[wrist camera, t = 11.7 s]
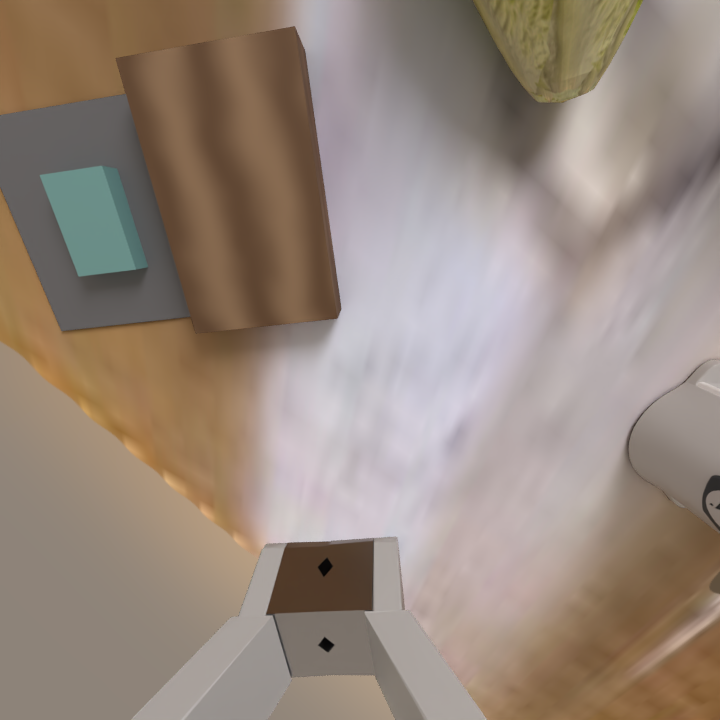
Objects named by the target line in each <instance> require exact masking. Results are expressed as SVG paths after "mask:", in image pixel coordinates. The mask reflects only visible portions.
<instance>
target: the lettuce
mask: <svg viewBox="0 0 720 720" xmlns="http://www.w3.org/2000/svg"><path fill="white" fill-rule="evenodd" d="M472 1H473V2H474V4H475V6H476V8H477V10H478V12H479V14H480V16H481V18H482V20H483V21H484V23H485V25H486V27H487V29H488V31H489V33H490V35H491V37H492V38H493V40H494V42H495V44H496V45H497V47H498V49H499V51H500V52H501V54H502V56H503V57H504V59H505V61H506V63H507V64H508V66H509V68H510V69H511V71H512V72H513V73H514V75H515V76H516V78H517V79H518V80H519V82H520V83H521V85H522V86H523V87H524V88H525V89H526V91H527V92H528V93H529V94H530V95H531V96H532V97H533V98H534V99H535V100H536V101H537V102H565V101H567V100H570V99H573V98H575V97H578V96H580V95H583V94H585V93H588V92H589V91H591V90H593V89H594V88H595V86H596V85H597V83H598V82H599V80H600V78H601V77H602V75H603V74H604V72H605V71H606V69H607V67H608V66H609V64H610V62H611V61H612V59H613V57H614V55H615V53H616V52H617V50H618V48H619V46H620V44H621V43H622V41H623V39H624V37H625V35H626V33H627V31H628V29H629V27H630V25H631V23H632V21H633V19H634V17H635V15H636V13H637V11H638V9H639V7H640V5H641V3H642V1H643V0H472Z"/></svg>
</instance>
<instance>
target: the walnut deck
mask: <svg viewBox="0 0 720 720" xmlns="http://www.w3.org/2000/svg"><path fill="white" fill-rule="evenodd" d="M116 62H117V65H118V69H119V72H120V75H121V79H122V82H123V86H124V89H125V93H126V96H127V100H128V103H129V106H130V110H131V113H132V117H133V120H134V124H135V127H136V130H137V134H138V137H139V141H140V144H141V148H142V151H143V154H144V158H145V161H146V165H147V168H148V172H149V175H150V179H151V182H152V185H153V189H154V192H155V196H156V199H157V203H158V206H159V209H160V213H161V216H162V220H163V223H164V227H165V230H166V233H167V237H168V240H169V244H170V247H171V251H172V254H173V257H174V261H175V264H176V268H177V271H178V275H179V278H180V282H181V285H182V288H183V292H184V295H185V299H186V302H187V306H188V309H189V312H190V316H191V319H192V323H193V326H194V330H195V333H196V334H197V333H206V332H216V331H225V330H234V329H244V328H253V327H262V326H272V325H281V324H290V323H300V322H309V321H319V320H328V319H337V318H338V316H339V313H340V311H341V303H340V296H339V289H338V282H337V275H336V268H335V260H334V253H333V246H332V239H331V232H330V225H329V218H328V211H327V204H326V196H325V189H324V182H323V175H322V168H321V161H320V154H319V147H318V140H317V132H316V125H315V118H314V111H313V104H312V97H311V90H310V83H309V76H308V68H307V61H306V54H305V49H304V47H303V45H302V42H301V40H300V38H299V35H298V33H297V31H296V28H295V26H294V27H288V28H283V29H277V30H271V31H266V32H260V33H255V34H249V35H243V36H238V37H232V38H226V39H221V40H215V41H210V42H204V43H198V44H193V45H187V46H182V47H176V48H170V49H165V50H159V51H153V52H148V53H142V54H137V55H131V56H125V57H120V58H116Z"/></svg>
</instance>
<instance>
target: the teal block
mask: <svg viewBox="0 0 720 720" xmlns="http://www.w3.org/2000/svg"><path fill="white" fill-rule="evenodd" d="M40 178H41V180H42V183H43V186H44V188H45V191H46V193H47V196H48V198H49V201H50V204H51V206H52V209H53V211H54V214H55V217H56V219H57V222H58V224H59V227H60V230H61V232H62V235H63V237H64V240H65V243H66V245H67V248H68V250H69V253H70V255H71V258H72V261H73V263H74V266H75V268H76V271H77V274H78V276H79V277H80V276H88V275H96V274H104V273H112V272H120V271H128V270H136V269H141V268H146V267H148V264H147V261H146V258H145V255H144V252H143V249H142V246H141V242H140V239H139V236H138V233H137V230H136V227H135V223H134V220H133V217H132V214H131V211H130V208H129V204H128V201H127V198H126V195H125V192H124V189H123V185H122V182H121V179H120V176H119V173H118V170H117V169H116V168H111V167H106V166H96V167H90V168H83V169H76V170H70V171H63V172H56V173H50V174H43V175H40Z"/></svg>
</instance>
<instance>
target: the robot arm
mask: <svg viewBox="0 0 720 720" xmlns="http://www.w3.org/2000/svg"><path fill="white" fill-rule="evenodd" d="M629 458H630V461H631V464H632V466H633V468H634V469H635V471H636V472H637V473H638V474H639V475H640V476H641V477H642V478H643V479H645V480H646V481H648V482H649V483H651V484H653V485H655V486H656V487H658V488H659V489H661V490H663V491H664V493H665V494H666V495H667V497H668V498H669V499H670V500H671V501H672V502H673V503H675V504H676V505H677V506H679V507H682V508H687V509H688V510H689V511H691V512H692V513H693V514H695V515H696V516H697V517H699V518H700V519H701V520H702V521H704V522H705V523H706V524H708V525H709V526H710V527H712V528H713V529H714V530H716V531H717V532H718V533H720V360H709V361H707V362H705V363H704V364H702V365H701V366H700V367H699V368H698V369H697V370H696V371H695V372H694V373H693V374H692V375H691V376H690V377H689V378H688V380H687V381H686V382H685V383H683V384H682V385H680V386H679V387H677V388H676V389H674V390H672V391H670V392H669V393H667V394H665V395H664V396H662V397H661V398H660V399H658V400H657V401H656V402H655V403H653V404H652V405H651V406H650V407H649V408H648V409H647V410H646V411H645V412H644V414H643V415H642V416H641V417H640V419H639V420H638V422H637V423H636V425H635V427H634V429H633V431H632V434H631V437H630V441H629ZM323 675H375V677H376V680H377V682H378V684H379V686H380V688H381V690H382V693H383V695H384V697H385V699H386V701H387V703H388V705H389V707H390V710H391V712H392V714H393V716H394V718H395V720H487V719H486V717H485V716H484V714H483V713H482V712H481V710H480V709H479V707H478V706H477V705H476V703H475V702H474V700H473V699H472V698H471V696H470V695H469V693H468V692H467V690H466V689H465V688H464V686H463V685H462V683H461V682H460V681H459V679H458V678H457V676H456V675H455V674H454V672H453V671H452V669H451V668H450V667H449V665H448V664H447V662H446V661H445V659H444V658H443V657H442V655H441V654H440V652H439V651H438V650H437V648H436V647H435V645H434V644H433V643H432V641H431V640H430V638H429V637H428V635H427V634H426V633H425V631H424V630H423V628H422V627H421V626H420V624H419V623H418V621H417V620H416V619H415V617H414V616H413V614H412V613H411V611H410V610H405V605H404V594H403V585H402V575H401V566H400V557H399V547H398V539H397V537H383V538H375V539H374V538H366V539H351V540H336V541H330V542H294V543H273V544H266V545H265V546H264V548H263V549H262V551H261V553H260V556H259V559H258V562H257V565H256V567H255V570H254V573H253V576H252V579H251V582H250V584H249V587H248V590H247V593H246V596H245V599H244V601H243V604H242V607H241V610H240V612H239V615H238V616H236V617H231V618H230V619H229V620H228V621H227V622H226V623H225V624H224V625H223V626H222V627H221V628H220V629H219V630H218V631H217V632H216V633H215V634H214V635H213V636H212V637H211V638H210V639H209V640H208V641H207V642H206V643H205V644H204V645H203V646H202V647H201V648H200V649H199V650H198V652H196V653H195V654H194V656H193V657H192V658H191V659H190V660H189V661H188V662H187V663H186V664H185V665H184V666H183V667H182V668H181V669H180V670H179V671H178V672H177V673H176V674H175V675H174V676H173V677H172V678H171V679H170V680H169V681H168V682H167V683H166V684H165V685H164V686H163V687H162V688H161V690H160V691H158V693H157V694H155V696H154V697H153V698H152V699H151V700H150V701H149V702H148V703H147V704H146V705H145V706H144V707H143V708H142V709H141V710H140V711H139V712H138V713H137V714H136V715H135V716H134V717H133V718H132V719H131V720H268V718H269V717H270V715H271V714H272V712H273V710H274V709H275V707H276V705H277V704H278V702H279V700H280V699H281V697H282V696H283V694H284V692H285V691H286V689H287V688H288V686H289V684H290V683H291V681H292V680H291V677H307V676H323Z"/></svg>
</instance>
